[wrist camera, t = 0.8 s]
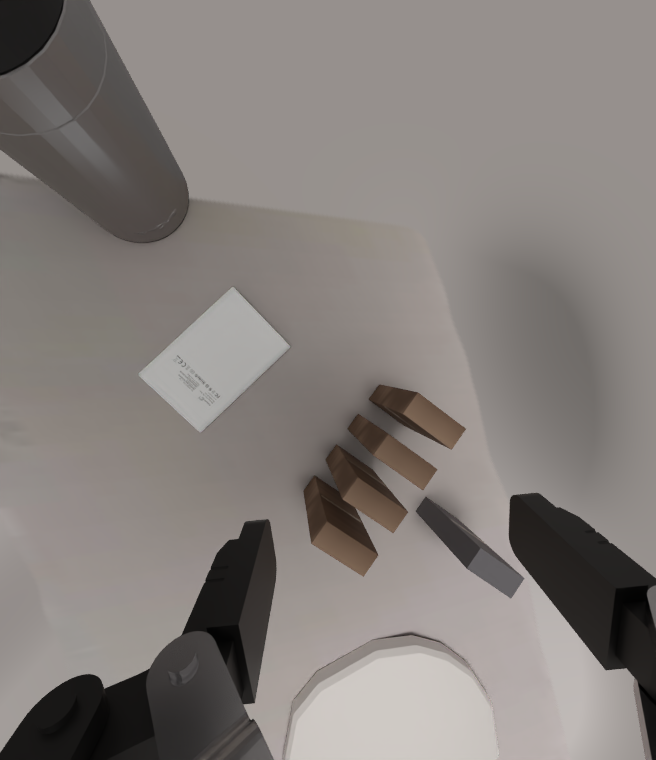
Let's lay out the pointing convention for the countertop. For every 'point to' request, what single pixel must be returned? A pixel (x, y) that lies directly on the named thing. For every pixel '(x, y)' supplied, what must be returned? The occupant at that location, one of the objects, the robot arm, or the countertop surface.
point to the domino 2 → (392, 452)
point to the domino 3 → (365, 489)
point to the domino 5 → (470, 549)
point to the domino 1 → (418, 414)
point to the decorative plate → (393, 707)
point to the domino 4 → (337, 527)
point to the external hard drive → (215, 360)
